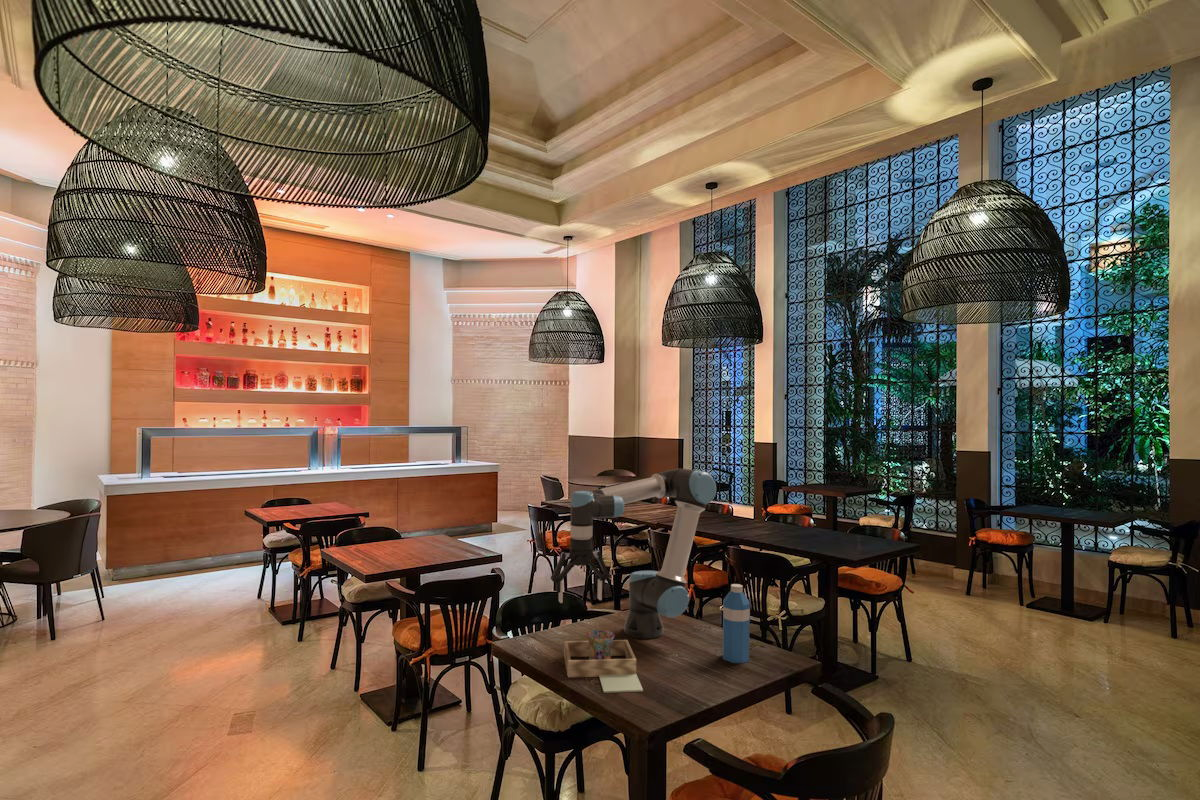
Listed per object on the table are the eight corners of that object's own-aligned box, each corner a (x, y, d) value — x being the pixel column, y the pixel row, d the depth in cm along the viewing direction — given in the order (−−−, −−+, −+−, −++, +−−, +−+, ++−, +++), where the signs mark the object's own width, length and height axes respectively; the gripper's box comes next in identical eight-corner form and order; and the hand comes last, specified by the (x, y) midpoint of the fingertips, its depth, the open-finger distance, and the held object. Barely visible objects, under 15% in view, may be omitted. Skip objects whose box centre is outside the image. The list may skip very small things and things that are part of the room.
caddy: (627, 654, 225) (627, 639, 225) (636, 675, 207) (636, 659, 207) (564, 655, 222) (564, 641, 222) (567, 677, 204) (567, 661, 204)
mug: (617, 671, 210) (618, 638, 210) (590, 673, 208) (591, 640, 208) (606, 657, 222) (607, 626, 222) (580, 660, 219) (581, 628, 219)
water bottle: (718, 660, 221) (719, 586, 222) (726, 651, 230) (727, 580, 230) (745, 665, 217) (746, 590, 217) (752, 656, 225) (753, 584, 226)
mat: (636, 675, 207) (636, 673, 207) (643, 691, 195) (643, 689, 195) (599, 676, 206) (599, 674, 206) (603, 692, 194) (603, 691, 194)
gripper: (613, 533, 226) (612, 594, 225) (542, 536, 219) (541, 599, 218) (619, 538, 219) (618, 601, 218) (547, 541, 211) (546, 606, 211)
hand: (580, 600), depth 218 cm, fingers open, 13 cm apart
